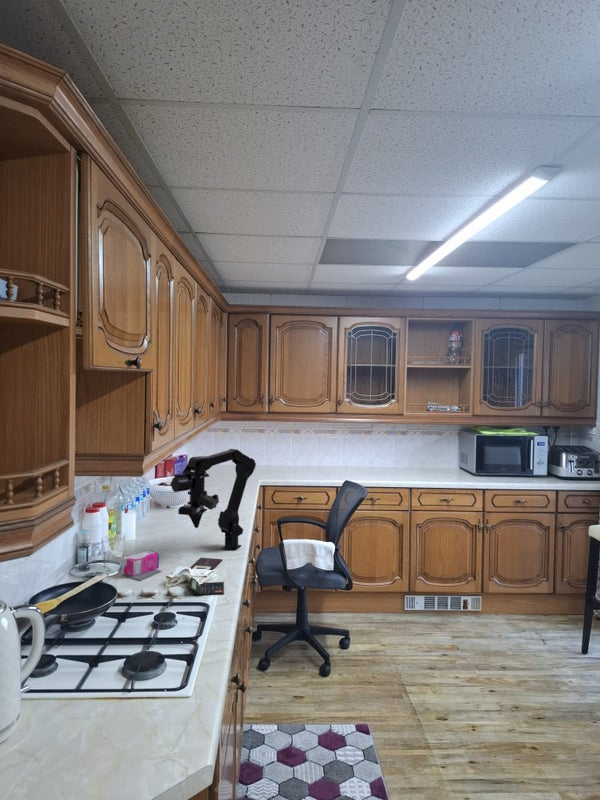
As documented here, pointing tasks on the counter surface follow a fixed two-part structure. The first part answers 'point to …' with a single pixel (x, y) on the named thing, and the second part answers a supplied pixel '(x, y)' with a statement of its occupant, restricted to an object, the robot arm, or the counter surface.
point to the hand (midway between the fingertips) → (196, 527)
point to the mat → (143, 575)
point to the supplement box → (140, 563)
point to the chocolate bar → (206, 563)
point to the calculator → (206, 588)
